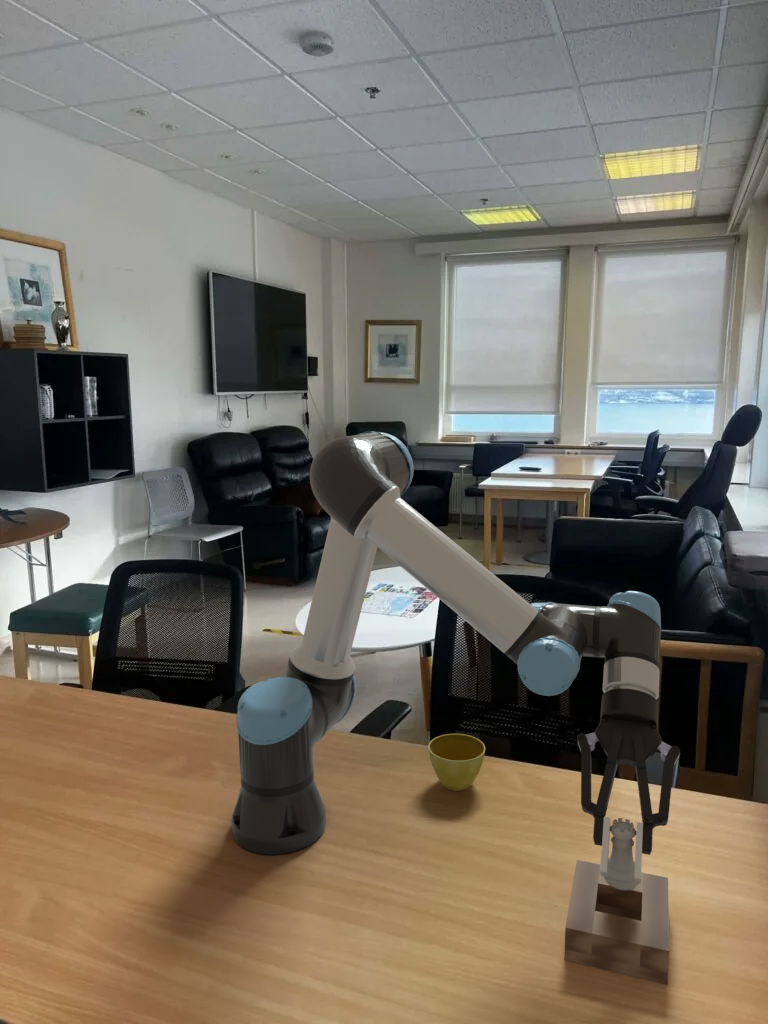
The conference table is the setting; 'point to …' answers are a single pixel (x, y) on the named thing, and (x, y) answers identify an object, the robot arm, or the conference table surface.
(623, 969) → the socket block
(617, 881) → the rook chess piece
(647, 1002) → the conference table surface
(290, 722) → the robot arm
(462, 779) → the flower pot
